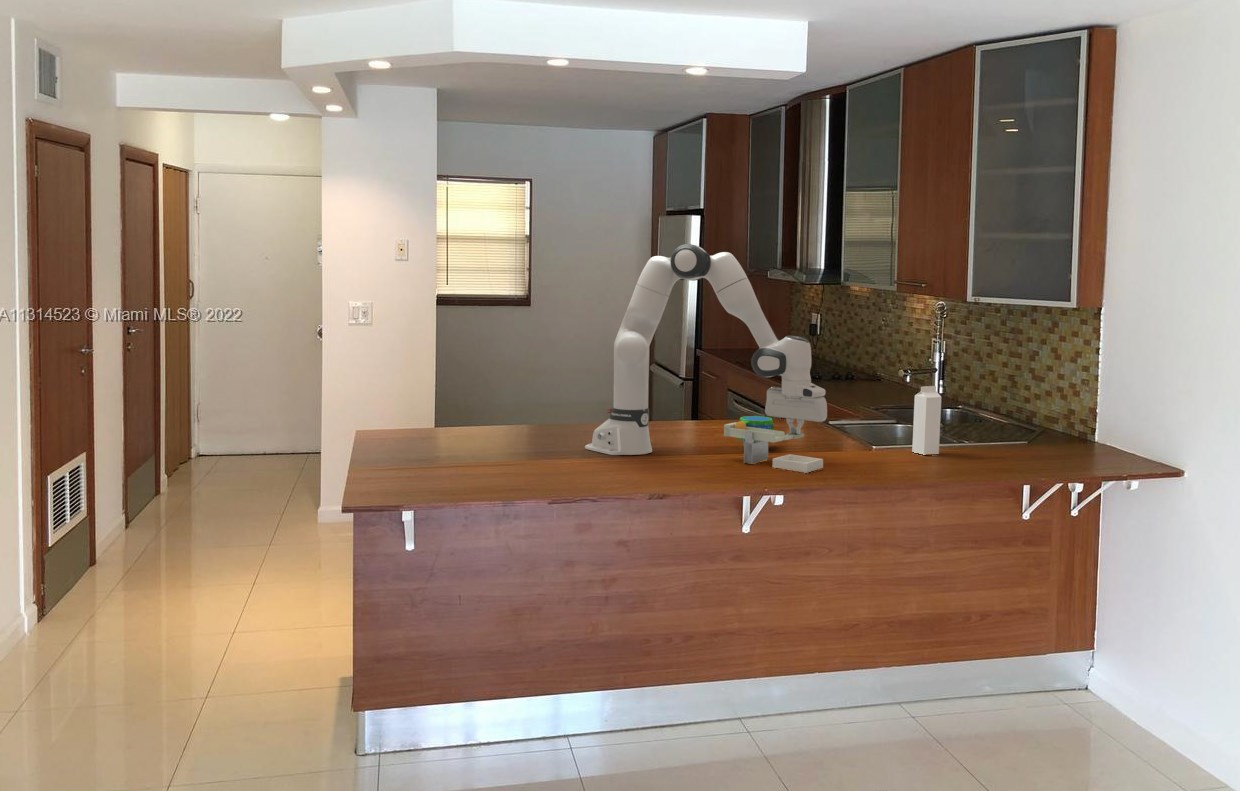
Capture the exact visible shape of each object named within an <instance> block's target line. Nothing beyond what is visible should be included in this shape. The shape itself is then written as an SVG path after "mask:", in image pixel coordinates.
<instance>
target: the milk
mask: <svg viewBox="0 0 1240 791" xmlns="http://www.w3.org/2000/svg"><path fill="white" fill-rule="evenodd" d="M941 413H942V396H941V394H940V393H938V391H937V386H936V385H928V386H927V385H925V386H920V391H919V392H918V393H916V394H914V404H913V427H912V446H911V447H912V448H911V452H914V453H919V454H923V455H926V454H940V439H941V438H940V437H941V436H940V435H941V416H942V414H941ZM914 453H913V454H914Z"/></svg>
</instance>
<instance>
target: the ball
mask: <svg viewBox="0 0 1240 791" xmlns="http://www.w3.org/2000/svg"><path fill="white" fill-rule="evenodd" d="M735 429H743V430H746V424H745V423H744V422H742V421H740V420H739V421H737V422H736V424H735Z"/></svg>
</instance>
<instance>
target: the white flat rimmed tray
mask: <svg viewBox="0 0 1240 791" xmlns="http://www.w3.org/2000/svg"><path fill="white" fill-rule="evenodd" d="M773 467H774V468H782V469H787V470H793V471H799V472H804V473H803V474H805V473H807V474H809V473H808V472H811V471H814V470H817V469H820V468H823V469H824V458H820V457H819V458H818V457H813V456H804V455H796V454H792V453H791V454H790V453H789V454H785V455H781V456H778V457H777V456H776V457H775V458H774V457H773V458H772V468H773ZM814 472H815V471H814ZM811 473H812V472H811Z"/></svg>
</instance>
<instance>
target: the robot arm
mask: <svg viewBox="0 0 1240 791" xmlns="http://www.w3.org/2000/svg"><path fill="white" fill-rule="evenodd" d="M702 279H706V280H707V281H708V282H709V284H710V285H711V287H712V288H713V291H714V293H715V295H716V298H717V299H718V302H719V303H720V304H721V306H722V308H724V310H725V311H726V313H728V314H730V315H732V316H734V317H736V318H738V319H740V320H741V321H742V322H743V323H744V324H745V325H746V326H747V327H748V329H749V331H750V333H751V335H752V336H753V338H754V340H755V342H756V344H757V346H758V347H759V348H758V349H757V350H755V351H754V353H753V355H752V356H751V358H750V363H751V368H752V370H753V372H754V373H755V374H757V375H758V376H760V377H763V378H771V377H775V376H776V377H777V376H780V377H781V386H780V387H778V386H777V387H776V386H771V387H769V388H768V389H767V390H766V400H765V406H764V407H765V408H764V412H765V415H766V417H771V418H781V419H782V418H783V419H785V420H786V421H785V422H786V423H787V425H788V428H789V433H795V434H800V433H802V432H801V428H802V427H803V426H804V424H805V421H810V422H818V423H820V422H821V423H822V422H825V421H826V419H827V418H828V404H827V403H828V402H827V400H826V398H825V395H826V392H827V391H826V389H825V388H822V387H820V386H818V385H816V384H814V383H813V382H812V378H811V377H812V376H811V373H810V372H811V368H812V348H811V342H810V341H809V340H808V339H806V338H805V337H801V336H797V335H786V336H785V337H784V338H782V339H779V338H778V336H777V335H776V333H775V331H774V329H773V328H772V326H771V324H770V323H769V320H768V318H767V317H766V314H764V311H763V310H762V308H761V304H760V303H759V300H758V298H757V296H756V294H755V291H754V289H753V286H752V284H751V282H750V280H749V278H748V276H747V274H746V272H745V270H744V269H743V267H742V265H741V264H740V262H739V261H738V260H737V258H736V257H735V256H734V254H732V253H731V252H728V251H722V252H718V253H715V254H713V255H710V254H709V253H708V252H707V251H706V250H704V248H702V247H701V246H699V245H696V244H692V243H685V244H684V243H683V244H682V245H679V246H678V247H676V248H675V249H674V250H673V251H672V253H671V256H670V257H666V256H664V255H663V256H662V255H655V256H652V257H650V258H649V259H648V260H647V262H646V264H645V265H644V267H643V269H642V271H641V273H640V275H639V277H638V279H637V282H636V285H635V287H634V290H633V292H632V295H631V298H630V301H629V303H628V305H627V309H626V311H625V313H624V316H623V318H622V321H621V323H620V326H619V329H618V332H617V335H616V337H615V339H614V342H613V407H612V408H609V409H606V411H607V412H606V414H609V416H608V419H607V420H604V422H603V423H601V424H600V425H599V426H598V427H597V428H595V429H594V431H593V434H592V439H591V440H592V441H591V443H588V444H586V445H585V446H584V449H585V450H589V451H593V452H598V453H601V454H605V455H609V456H621V455H622V456H623V455H624V456H625V455H626V456H628V455H629V456H632V455H633V456H634V455H646V454H649V453H650V454H651V453H652V452H653V449H652V444H651V439H650V429H649V422H650V408H649V374H650V373H649V370H650V369H649V368H650V346H651V343H652V340H653V338H654V335H655V333H656V330H657V328H658V326H659V324H660V322H661V319H662V317H663V314H664V311H665V309H666V306H667V304H668V300H669V298H670V295H671V292H672V289H673V288H674V286H675V284H676V282H678V281H679V280H680V281H690V282H691V281H699V280H702ZM795 420H796V423H797V425H796V426H795V425H794V421H795Z"/></svg>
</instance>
